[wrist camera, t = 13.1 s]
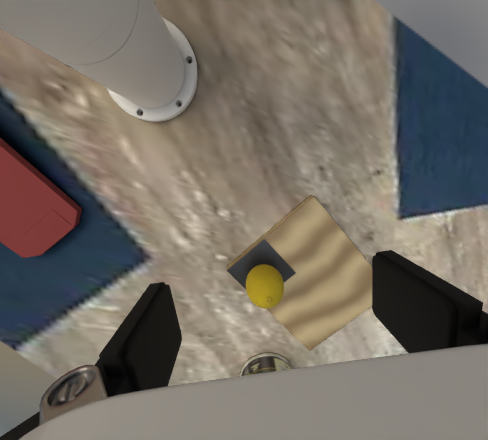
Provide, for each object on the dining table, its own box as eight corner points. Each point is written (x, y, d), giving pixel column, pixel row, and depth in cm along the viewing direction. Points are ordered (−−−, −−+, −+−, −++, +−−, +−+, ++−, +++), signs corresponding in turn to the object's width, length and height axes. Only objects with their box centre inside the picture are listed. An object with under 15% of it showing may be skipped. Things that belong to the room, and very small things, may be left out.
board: (227, 265, 38) (226, 270, 37) (311, 194, 36) (314, 196, 34) (307, 344, 43) (309, 352, 41) (386, 286, 40) (393, 291, 39)
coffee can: (234, 389, 45) (233, 488, 31) (248, 347, 43) (253, 434, 29) (283, 399, 46) (303, 499, 32) (300, 358, 44) (328, 448, 30)
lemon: (281, 258, 37) (293, 284, 29) (275, 289, 38) (285, 321, 30) (247, 254, 36) (250, 279, 28) (242, 285, 38) (243, 317, 30)
